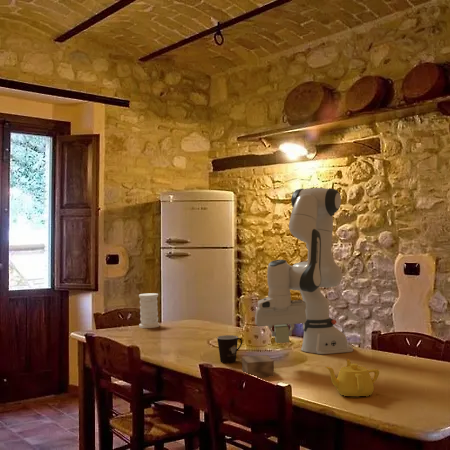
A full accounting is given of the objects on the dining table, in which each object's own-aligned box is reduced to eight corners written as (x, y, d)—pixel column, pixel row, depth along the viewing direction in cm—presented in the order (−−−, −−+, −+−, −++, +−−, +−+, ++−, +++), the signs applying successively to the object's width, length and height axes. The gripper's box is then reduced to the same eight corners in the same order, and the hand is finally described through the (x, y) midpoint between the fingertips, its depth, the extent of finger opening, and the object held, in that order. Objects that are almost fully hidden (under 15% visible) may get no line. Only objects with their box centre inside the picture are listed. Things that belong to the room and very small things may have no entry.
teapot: (348, 385, 208) (347, 357, 207) (383, 392, 198) (382, 363, 198) (325, 395, 198) (324, 365, 198) (360, 402, 188) (359, 371, 188)
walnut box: (267, 370, 232) (267, 355, 232) (274, 377, 223) (273, 361, 222) (242, 372, 231) (242, 356, 231) (247, 378, 221) (247, 362, 221)
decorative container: (163, 325, 338) (163, 293, 338) (150, 328, 328) (150, 296, 328) (148, 323, 344) (147, 292, 344) (134, 327, 335) (133, 295, 334)
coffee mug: (220, 364, 243) (220, 340, 243) (215, 360, 251) (214, 336, 251) (248, 362, 246) (247, 337, 246) (241, 357, 254) (241, 334, 254)
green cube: (287, 339, 240) (286, 324, 240) (289, 342, 235) (288, 327, 235) (275, 340, 240) (274, 325, 239) (276, 343, 235) (275, 328, 234)
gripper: (304, 298, 240) (306, 332, 241) (253, 301, 239) (255, 335, 240) (307, 300, 234) (309, 335, 234) (255, 304, 233) (257, 339, 234)
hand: (281, 335), depth 237 cm, fingers closed on green cube, 5 cm apart
